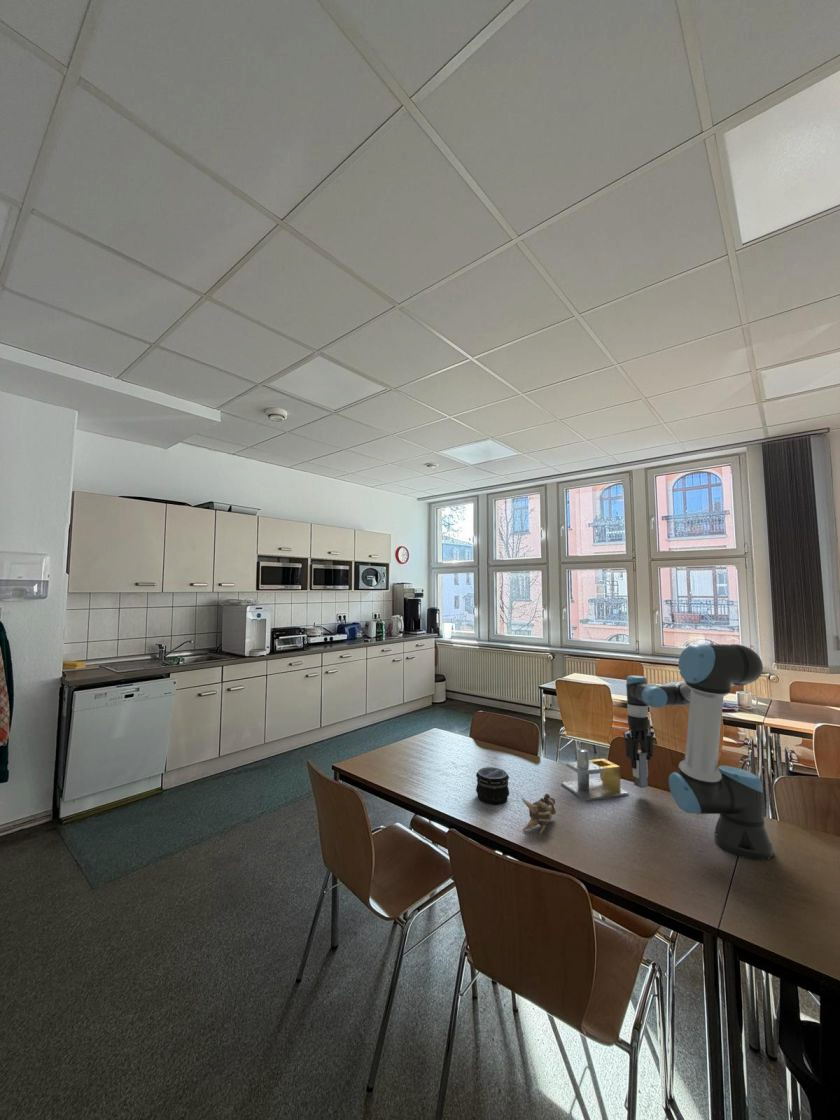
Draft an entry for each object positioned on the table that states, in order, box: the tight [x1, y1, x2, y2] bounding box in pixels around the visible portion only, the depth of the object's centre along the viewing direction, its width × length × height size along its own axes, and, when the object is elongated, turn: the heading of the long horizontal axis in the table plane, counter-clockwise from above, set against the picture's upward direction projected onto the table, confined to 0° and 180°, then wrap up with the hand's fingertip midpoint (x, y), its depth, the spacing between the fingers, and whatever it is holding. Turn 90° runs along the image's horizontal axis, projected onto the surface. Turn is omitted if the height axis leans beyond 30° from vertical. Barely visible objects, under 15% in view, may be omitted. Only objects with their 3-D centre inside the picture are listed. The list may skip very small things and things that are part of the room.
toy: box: [521, 793, 557, 835], centre depth 153 cm, size 11×8×15 cm
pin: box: [633, 749, 649, 789], centre depth 178 cm, size 4×4×13 cm
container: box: [475, 766, 510, 806], centre depth 174 cm, size 13×13×10 cm
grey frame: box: [560, 748, 629, 802], centre depth 184 cm, size 16×20×16 cm
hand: (640, 776), depth 178 cm, fingers closed on pin, 3 cm apart
